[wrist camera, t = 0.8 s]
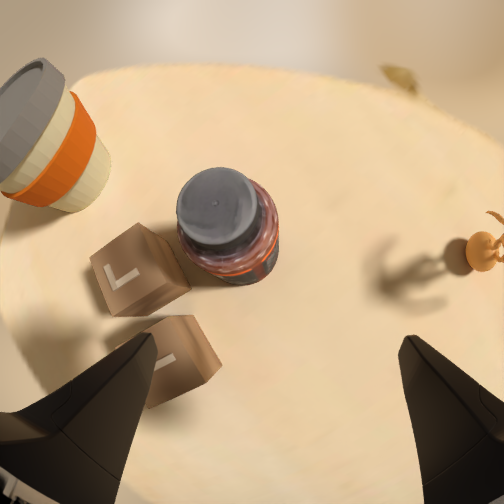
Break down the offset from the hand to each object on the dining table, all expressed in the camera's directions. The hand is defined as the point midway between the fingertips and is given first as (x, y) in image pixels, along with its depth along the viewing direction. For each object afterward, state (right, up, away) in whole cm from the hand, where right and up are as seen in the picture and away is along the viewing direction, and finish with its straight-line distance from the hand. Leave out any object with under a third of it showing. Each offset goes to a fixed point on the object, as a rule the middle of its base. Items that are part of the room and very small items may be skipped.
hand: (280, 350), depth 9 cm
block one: (-7, -6, +14) cm, 16 cm away
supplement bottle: (-2, +3, +15) cm, 16 cm away
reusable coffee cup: (-21, +12, +18) cm, 31 cm away
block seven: (-10, +1, +15) cm, 18 cm away
